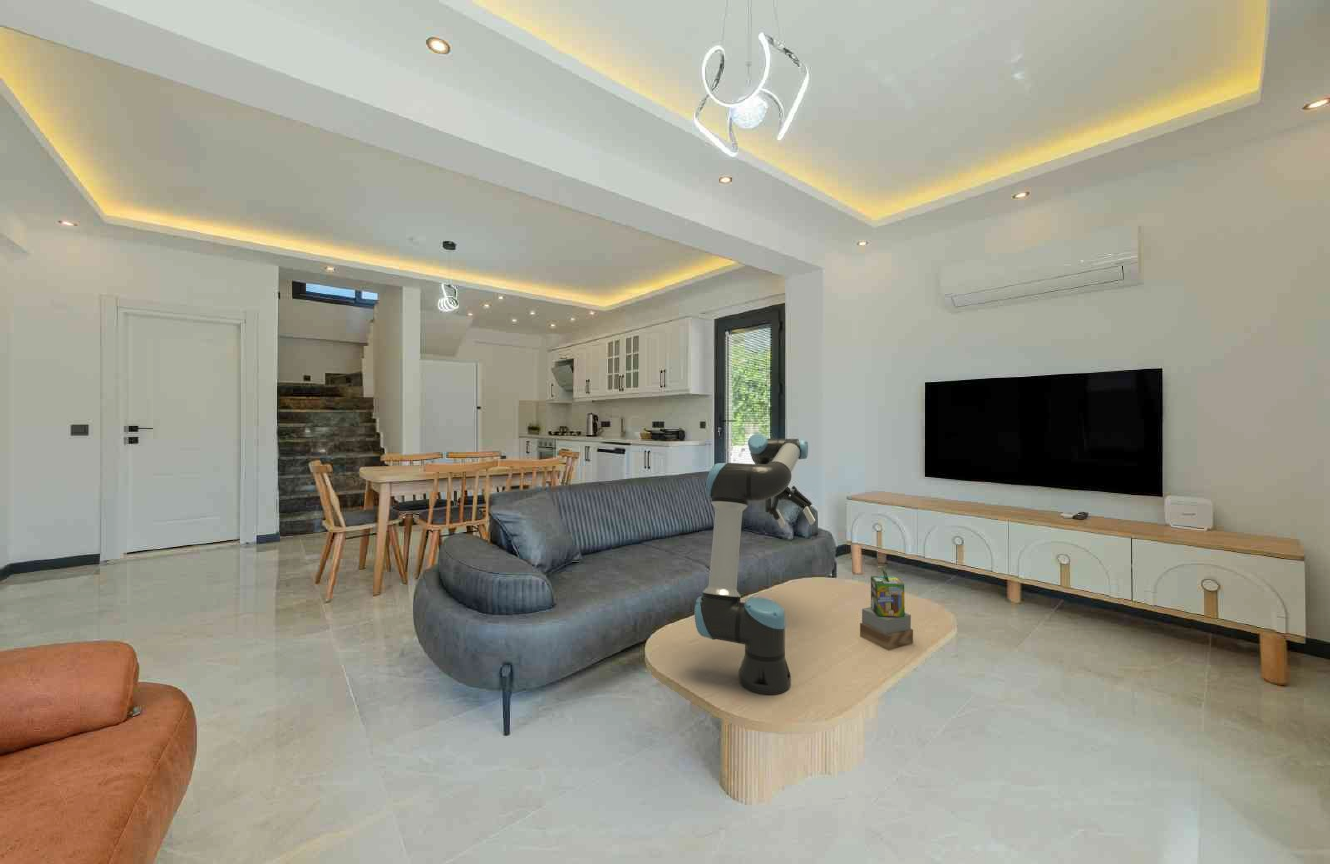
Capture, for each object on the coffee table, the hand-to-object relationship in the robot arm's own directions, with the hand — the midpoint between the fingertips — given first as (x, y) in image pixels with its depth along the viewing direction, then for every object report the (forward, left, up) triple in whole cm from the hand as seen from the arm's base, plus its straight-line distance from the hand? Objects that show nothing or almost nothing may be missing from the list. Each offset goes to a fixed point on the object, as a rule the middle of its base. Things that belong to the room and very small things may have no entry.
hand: (798, 524), depth 192 cm
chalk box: (+20, -23, -28) cm, 41 cm away
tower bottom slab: (+20, -23, -38) cm, 49 cm away
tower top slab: (+20, -23, -33) cm, 45 cm away
